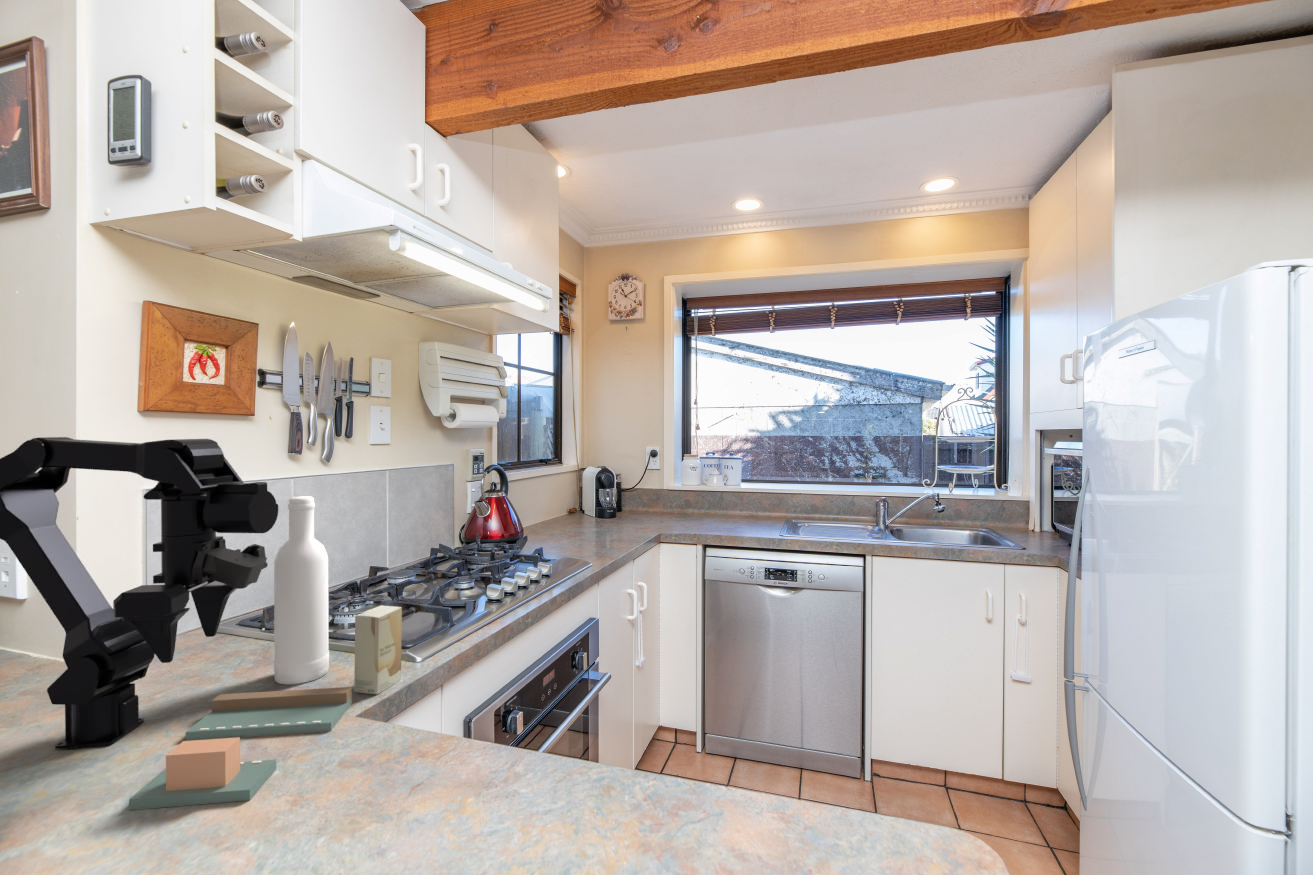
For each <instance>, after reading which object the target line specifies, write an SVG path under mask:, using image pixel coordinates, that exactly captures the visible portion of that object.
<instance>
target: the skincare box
mask: <svg viewBox="0 0 1313 875" xmlns="http://www.w3.org/2000/svg"><path fill="white" fill-rule="evenodd" d="M402 609H403V607H401V606H391V605H381V604H380V605H378V606H376V607H374V608H371V609H368V610H366V611H364V612H361V613H360V614H356V615H355V617H354V618H355V619H354V621H355V622H354V624H355V625H354V678H353V679H354V682H353V686H354V690H353V692H354V693H359V694H366V695H368V694H369V695H378V694H381V693H382V692H384V691H385V690H387V689H389V688H390V687H392V686H393V685H395V684H396V683H398V682H400V681H401V680H402V625H403V624H402V622H403V618H402V615H403V614H402V613H403V612H402V611H403V610H402Z"/></svg>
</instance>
